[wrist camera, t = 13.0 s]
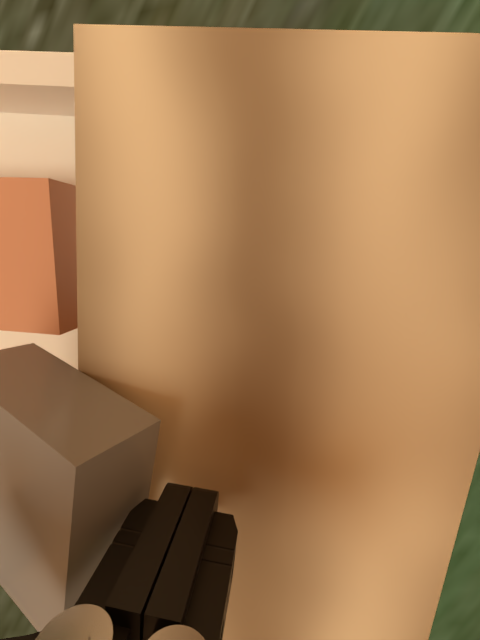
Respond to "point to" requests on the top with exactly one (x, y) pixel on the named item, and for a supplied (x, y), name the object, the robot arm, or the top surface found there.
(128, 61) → the board
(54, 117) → the box
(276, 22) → the top surface
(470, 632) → the top surface
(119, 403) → the slate tile
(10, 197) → the terracotta tile
